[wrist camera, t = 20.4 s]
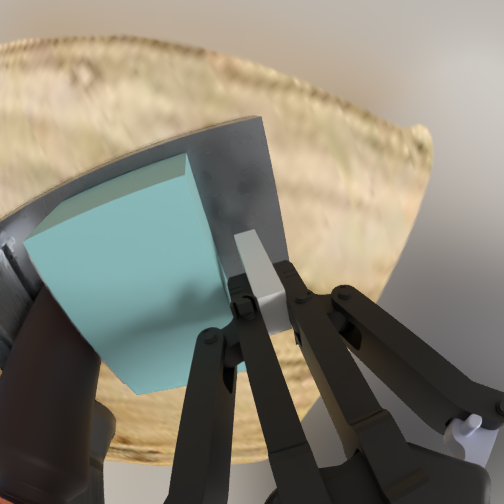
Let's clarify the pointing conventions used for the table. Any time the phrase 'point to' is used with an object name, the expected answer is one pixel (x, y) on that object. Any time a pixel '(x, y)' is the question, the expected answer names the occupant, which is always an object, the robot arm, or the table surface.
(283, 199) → the table surface
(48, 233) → the block
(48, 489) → the vinegar
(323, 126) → the table surface
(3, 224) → the vise base
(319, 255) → the table surface
